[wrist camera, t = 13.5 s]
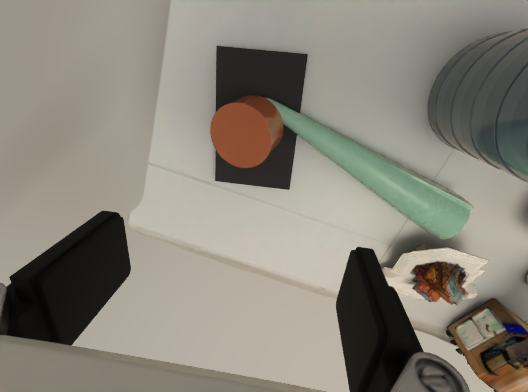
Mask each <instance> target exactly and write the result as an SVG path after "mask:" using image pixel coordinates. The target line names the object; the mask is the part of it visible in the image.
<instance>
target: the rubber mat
mask: <svg viewBox="0 0 528 392" xmlns="http://www.w3.org/2000/svg"><path fill="white" fill-rule="evenodd" d="M307 56H308V55H307V54H299V53H288V52H277V51H266V50H255V49H244V48H233V47H222V46H217V61H216V112H217V111H218V110H219V109H220V108H221V107H223V106H224V105H226V104H229V103H231V102H233V101H235V100H237V99H240V98H242V97H244V96H248V95H257V96H261V97H264V98H269V99H272V100H274V101H276V102H278V103H280V104H282V105H284V106H286V107H288V108H290V109H292V110H294V111H296V112H298V113H300V107H301V100H302V92H303V85H304V78H305V70H306V63H307ZM296 136H297V134H296V133H295V132H293V131H292V130H291V129H290V128H288V127H287V126H286V125H284V124H283V135H282V139H281V141H280V143H279V144H278V146H277V147H276V148H275V149H274V150H273V151H272V152H271V153H270V155H269V156H268V157H267V158H266V159H265V160H264V161H263V162H262V163H261V164H259V165H257V166H255V167H251V168H241V167H237V166H234V165H232V164H230V163H228V162H227V161H226V160H224V159H223V158H222V157H221V156H220V155H219V153H218V152H217V150H216V171H215V181H220V182H229V183H237V184H245V185H254V186H262V187H271V188H279V189H288V190H289V188H290V180H291V173H292V166H293V158H294V151H295V144H296Z"/></svg>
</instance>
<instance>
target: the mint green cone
mask: <svg viewBox="0 0 528 392" xmlns="http://www.w3.org/2000/svg"><path fill="white" fill-rule="evenodd" d="M266 99H268V100H269V101H270V102H272V103H273V104H274V105H275V107H276V108H277V109H278V111H279V113H280V115H281V117H282V121H283V124H284V125H286V126H287V127H288V128H290V129H291V130H292V131H293V132H295V133H296V134H297V135H299V136H300V137H301V138H303V139H304V140H305V141H307V142H308V143H309V144H311V145H312V146H313V147H315V148H316V149H317V150H319V151H320V152H321V153H323V154H324V155H325V156H327V157H328V158H329V159H331V160H332V161H333V162H335V163H336V164H337V165H339V166H340V167H341V168H343V169H344V170H345V171H347V172H348V173H349V174H351V175H352V176H353V177H355V178H356V179H357V180H358V181H360V182H361V183H362V184H364V185H365V186H366V187H368V188H369V189H370V190H372V191H373V192H374V193H376V194H377V195H378V196H380V197H381V198H382V199H384V200H385V201H386V202H388V203H389V204H390V205H392V206H393V207H394V208H395V209H397V210H398V211H399V212H401V213H402V214H403V215H405V216H406V217H407V218H409V219H410V220H412V221H413V222H414V223H416V224H417V225H419V226H420V227H422V228H423V229H425V230H426V231H428V232H429V233H431V234H432V235H434V236H435V237H437V238H439V239H448V238H451V237H453V236H455V235H456V234H458V233H459V232H460V231H461V230H462V229H463V227H464V226H465V225H466V223H467V221H468V218H469V215H470V211H471V210H472V208H473V207H474V206H472V205H471V204H470V203H469V202H468V201H466V200H465V199H464V198H463V197H461V196H460V195H458V194H456V193H454V192H452V191H450V190H448V189H446V188H444V187H442V186H440V185H438V184H436V183H434V182H432V181H430V180H428V179H426V178H424V177H422V176H420V175H418V174H416V173H414V172H412V171H410V170H408V169H406V168H404V167H402V166H400V165H398V164H396V163H394V162H392V161H390V160H388V159H386V158H384V157H383V156H381V155H379V154H377V153H375V152H373V151H371V150H369V149H367V148H365V147H363V146H361V145H359V144H357V143H355V142H354V141H352V140H350V139H348V138H346V137H344V136H342V135H340V134H338V133H336V132H334V131H332V130H330V129H329V128H327V127H325V126H323V125H321V124H319V123H317V122H315V121H313V120H311V119H309V118H307V117H305V116H303V115H302V114H300V113H298V112H296V111H294V110H292V109H290V108H288V107H286V106H284V105H282V104H280V103H278V102H276V101H274V100H272V99H269V98H266Z"/></svg>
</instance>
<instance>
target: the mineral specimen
mask: <svg viewBox="0 0 528 392" xmlns="http://www.w3.org/2000/svg"><path fill="white" fill-rule="evenodd" d="M416 250H417V251H412V252H411V253H403V254H402V256H401V257H400V259H399V260H398V261H397V263H396V264H395V266H394V267H393V269H392V268H387V267H384V268H383V270H382V271H383V273H384V276H385V278H386V280H387V283H388V285H389V286H392V287H394V288H395V290H396V292H398V293H401V294H404V295H407V296H410V297H414V298H417V299H420V300H422V299H425V300H426V299H427V300H428V302H431V300H432V301H434V302H438V301H437V300H438V299H444V300H445V301H446V300H447V302H449V304H450V303H451V304H452V305H453V304H456V303H457V304H458V303H460V300H461V299H463V298H475V297H476V296H477V295H478V293H477V290H476V288H475V285H474V284H470V283H471V282H472V281H473V280H475V279H476V278H477V277H478V276H480V275H481V274H482V273H483V272H484V271H485V270H482V269H480V268H481V267H483V266H484V265H485V264H486V263H487V262H489V260H486V259H483V258H480V257H477V256H474V255H470V254H467V253H464V252H461V251H458V250H455V249H452V248H449V247H447V248H438V249H431V248H430V247H428V246H426V245H425V244H424V245H420V246H419V247H416ZM459 267H460V268H459ZM418 274H419V275H418ZM416 275H417V276H416ZM415 276H416V277H415ZM435 300H436V301H435ZM461 301H462V300H461ZM457 304H456V305H457Z"/></svg>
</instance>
